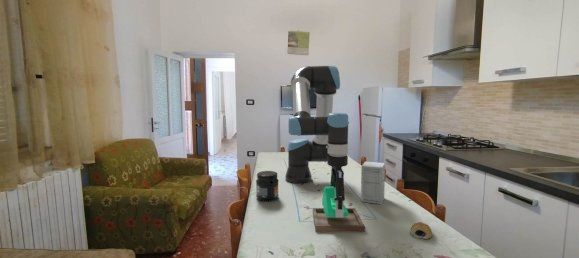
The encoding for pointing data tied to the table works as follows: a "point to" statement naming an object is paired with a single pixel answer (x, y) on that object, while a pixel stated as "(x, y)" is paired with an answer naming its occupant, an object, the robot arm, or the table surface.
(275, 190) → the supplement container
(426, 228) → the pastry
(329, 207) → the camera mount
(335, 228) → the tray
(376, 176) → the supplement box
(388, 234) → the table surface
